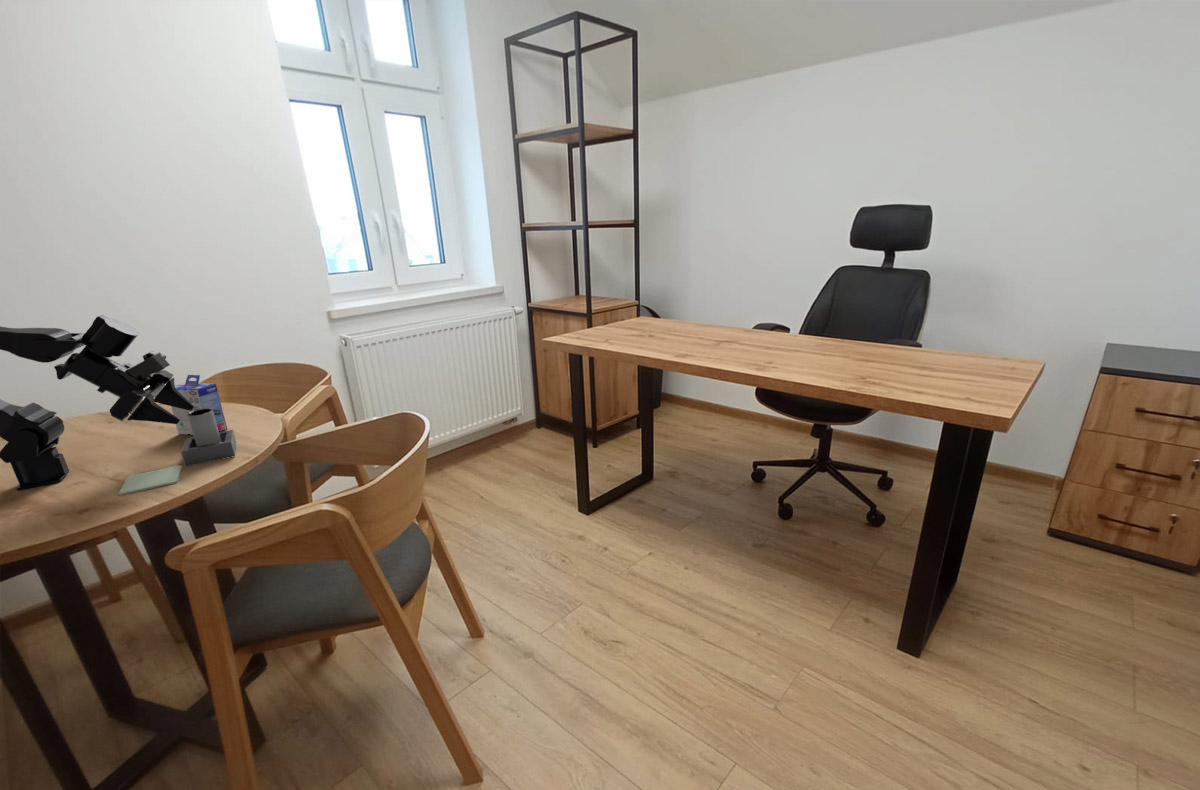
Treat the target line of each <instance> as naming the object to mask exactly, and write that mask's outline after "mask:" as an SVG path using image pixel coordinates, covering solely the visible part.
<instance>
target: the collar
mask: <svg viewBox="0 0 1200 790" xmlns="http://www.w3.org/2000/svg"><path fill="white" fill-rule="evenodd" d="M219 434H220V438H221V441H222V442H220V443H215V444H210V445H204V446H199V447H197V445H196V442H195V439H194V436H192V437H187V438H185V441H184V442H183V445H182V448H181V451H180V453H181V456H182V459H183V462H184V465H185V467H191V466H195V465H200V464H205V462H206V463H210V462H209V461H211V462H214V461H213V460H215V461H218V459H220V460H224V459H223V458H225V459H228V458H227V457H230V458H233V457H232V456H235V457H236V452H235V451H237V444H236V443H237V439H236V435H235V432H234V429H229V430H223V431H220V432H219Z"/></svg>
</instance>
